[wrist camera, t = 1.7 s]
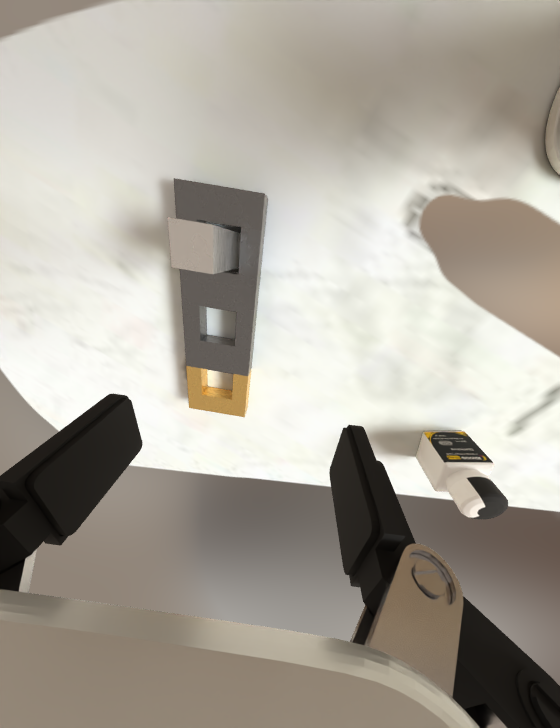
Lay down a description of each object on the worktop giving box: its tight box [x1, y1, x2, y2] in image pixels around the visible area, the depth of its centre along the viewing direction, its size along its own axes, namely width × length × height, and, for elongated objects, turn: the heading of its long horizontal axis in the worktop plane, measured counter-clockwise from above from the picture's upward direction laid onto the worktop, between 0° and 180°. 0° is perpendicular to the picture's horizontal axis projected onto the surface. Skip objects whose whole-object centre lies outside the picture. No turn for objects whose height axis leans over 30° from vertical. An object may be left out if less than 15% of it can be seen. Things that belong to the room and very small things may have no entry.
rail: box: [174, 179, 268, 417], centre depth 32 cm, size 32×10×2 cm, turn 172°
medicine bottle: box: [416, 431, 508, 519], centre depth 36 cm, size 7×7×12 cm
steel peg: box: [167, 217, 241, 274], centre depth 24 cm, size 4×4×10 cm
